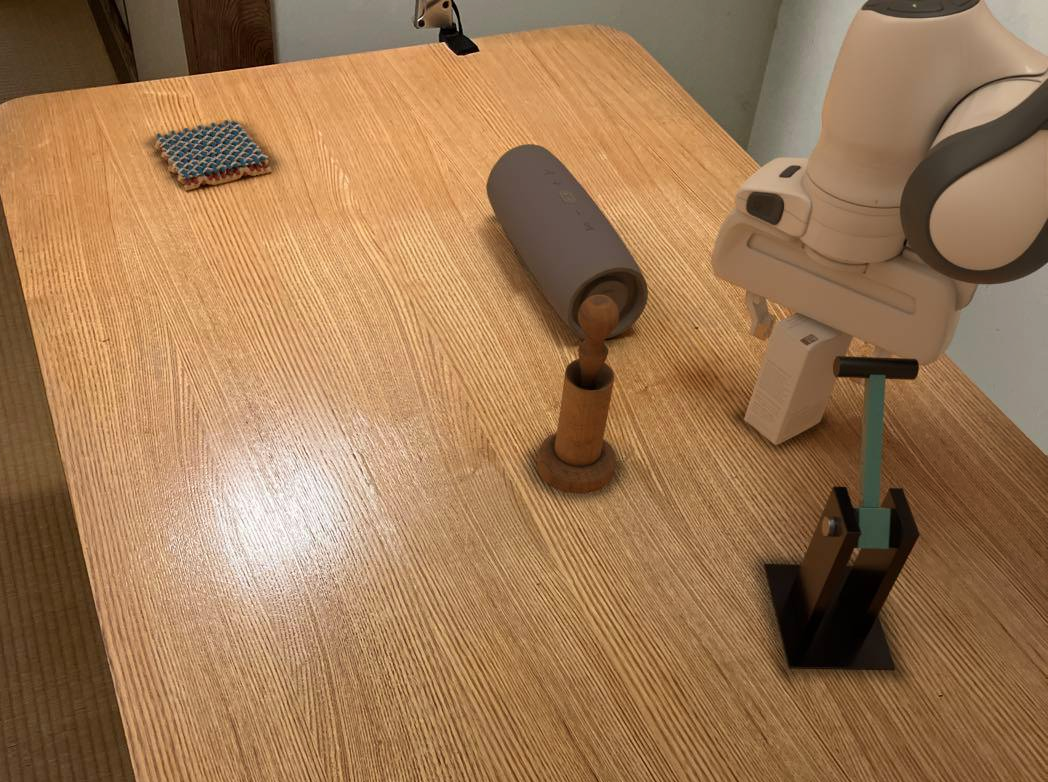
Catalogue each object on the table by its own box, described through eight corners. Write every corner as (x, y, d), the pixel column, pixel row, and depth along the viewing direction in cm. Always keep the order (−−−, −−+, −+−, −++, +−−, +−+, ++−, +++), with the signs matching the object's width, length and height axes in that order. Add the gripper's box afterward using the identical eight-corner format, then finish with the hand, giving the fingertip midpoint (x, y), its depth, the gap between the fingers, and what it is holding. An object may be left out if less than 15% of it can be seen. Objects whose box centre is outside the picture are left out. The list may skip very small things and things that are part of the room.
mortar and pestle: (572, 513, 89) (599, 338, 76) (520, 470, 92) (537, 294, 79) (628, 479, 92) (663, 305, 79) (576, 438, 95) (601, 263, 82)
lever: (830, 357, 75) (843, 354, 73) (907, 360, 75) (922, 357, 73) (821, 545, 76) (834, 548, 73) (897, 547, 76) (912, 549, 74)
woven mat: (184, 195, 117) (181, 178, 116) (153, 150, 123) (150, 133, 122) (274, 175, 121) (273, 158, 120) (240, 132, 127) (238, 115, 126)
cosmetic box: (784, 404, 100) (820, 295, 91) (820, 431, 98) (861, 322, 89) (737, 428, 97) (770, 319, 88) (773, 457, 95) (811, 348, 86)
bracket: (760, 573, 86) (803, 457, 76) (858, 575, 86) (912, 460, 77) (784, 676, 79) (834, 564, 70) (890, 678, 80) (954, 566, 70)
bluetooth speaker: (645, 343, 105) (662, 254, 98) (557, 359, 102) (567, 269, 95) (559, 219, 119) (568, 133, 111) (479, 230, 116) (483, 144, 109)
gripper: (1003, 244, 79) (939, 389, 90) (757, 151, 87) (724, 295, 97) (972, 282, 76) (909, 428, 86) (718, 182, 83) (688, 327, 94)
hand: (809, 357), depth 92 cm, fingers open, 8 cm apart
